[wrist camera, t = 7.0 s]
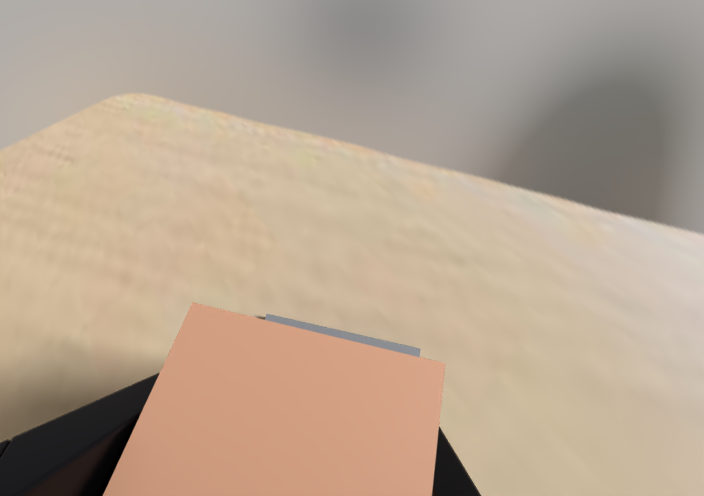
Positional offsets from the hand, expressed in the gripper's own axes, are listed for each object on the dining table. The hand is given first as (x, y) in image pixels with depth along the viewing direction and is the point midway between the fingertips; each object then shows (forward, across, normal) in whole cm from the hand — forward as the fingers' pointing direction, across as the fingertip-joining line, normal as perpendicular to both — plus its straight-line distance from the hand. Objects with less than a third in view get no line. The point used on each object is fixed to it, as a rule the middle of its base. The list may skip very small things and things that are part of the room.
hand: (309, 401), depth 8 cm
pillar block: (+4, 0, +6) cm, 7 cm away
